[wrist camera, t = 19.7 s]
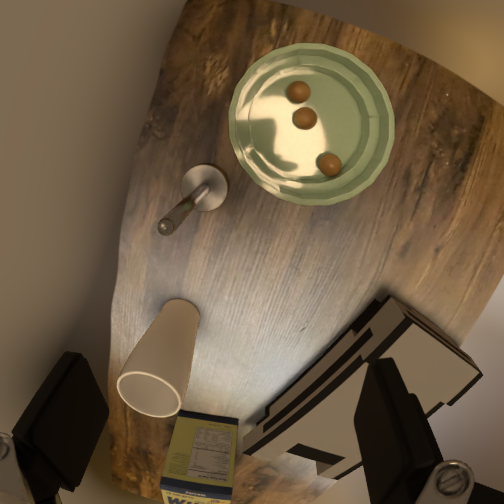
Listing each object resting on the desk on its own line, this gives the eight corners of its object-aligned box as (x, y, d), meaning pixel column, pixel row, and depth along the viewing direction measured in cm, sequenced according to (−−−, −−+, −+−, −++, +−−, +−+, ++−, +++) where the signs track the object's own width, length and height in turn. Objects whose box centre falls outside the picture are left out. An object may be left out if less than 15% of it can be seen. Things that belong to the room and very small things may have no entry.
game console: (244, 420, 49) (241, 459, 41) (382, 282, 38) (405, 317, 31) (333, 451, 52) (338, 485, 45) (460, 343, 42) (483, 375, 34)
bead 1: (297, 72, 28) (299, 88, 27) (314, 83, 29) (317, 99, 28) (281, 84, 29) (282, 100, 29) (298, 94, 31) (300, 110, 30)
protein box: (181, 453, 54) (167, 516, 40) (178, 408, 48) (157, 484, 34) (232, 460, 54) (225, 525, 40) (239, 417, 48) (232, 496, 34)
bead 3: (326, 150, 32) (316, 151, 31) (346, 155, 31) (338, 156, 29) (322, 171, 34) (313, 173, 32) (342, 177, 32) (334, 180, 31)
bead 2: (313, 114, 28) (318, 133, 30) (315, 101, 29) (320, 120, 31) (289, 116, 29) (295, 135, 31) (293, 103, 30) (298, 122, 32)
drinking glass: (147, 302, 41) (102, 378, 27) (189, 284, 39) (154, 364, 25) (173, 340, 43) (143, 422, 29) (215, 326, 41) (195, 412, 27)
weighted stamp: (210, 153, 33) (167, 174, 18) (238, 189, 35) (218, 237, 20) (176, 181, 35) (114, 222, 20) (203, 215, 36) (162, 279, 21)
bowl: (232, 58, 29) (225, 44, 24) (371, 62, 29) (391, 51, 23) (238, 194, 35) (233, 207, 29) (372, 193, 34) (391, 206, 29)
